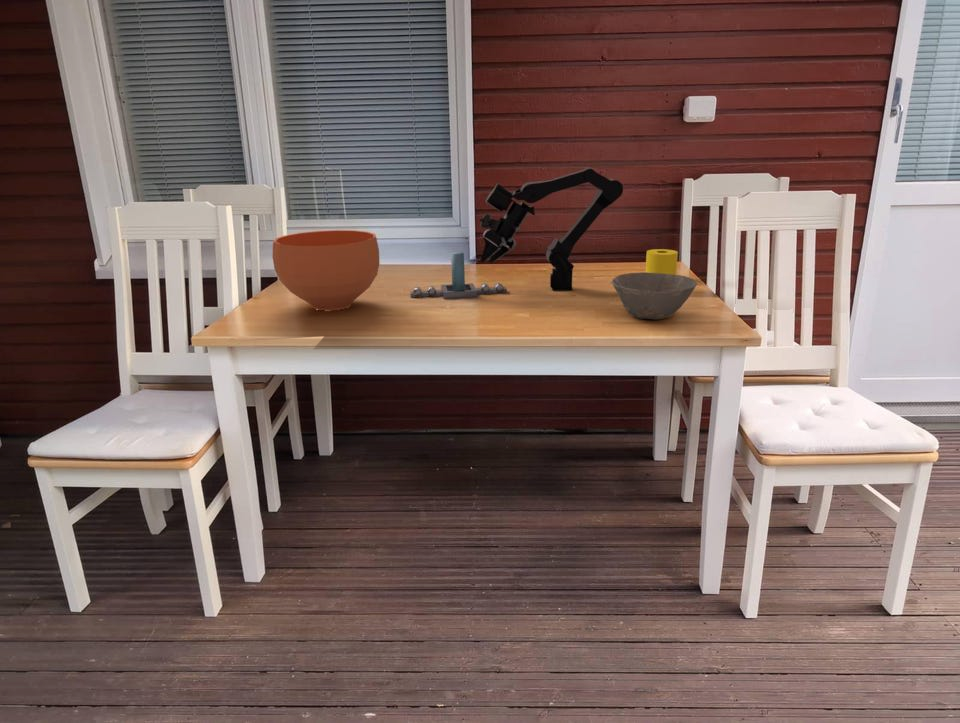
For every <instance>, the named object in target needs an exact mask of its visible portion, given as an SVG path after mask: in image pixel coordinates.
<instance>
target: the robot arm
mask: <svg viewBox="0 0 960 723" xmlns="http://www.w3.org/2000/svg"><path fill="white" fill-rule="evenodd" d="M586 183H589V184H590V185H592V186H594V187H595V188H597V190H596V192H595V195H594V197H593V200H592V202H590V204H589V205H588V206H587V208H586V209H585V210H584V211H583V212H582V214H581V215H580V216H579V217H578V219H577V220H576V221H575V222H574V224H572V226H571V227H570V229H569V230H568V231H567V232H566V234H564V235H563V237H561V238H560V239H558V238H557V237H554V238H553V240H552V242H551V243H550V244H549V245H548V246H547V247H546V248H547V250H546V253H545V258H546V260H547V261H548V262H549V263H550V265H551V266H552V267H553V268H552V269H551V270H552V271H551V273H550V275H549V277H550V278H549V284H550V285H549V287H550V288H551V290H552V291H573V290H574V288H573V269H574V268H575V265H574V264H573V263H572V262H571V261H570V260H569V258H570V256H571V254H572V251H573V249H574V246H575V245H576V244H577V243H578V241H579V240H580V239H581V238H582V236H583V235H584V234H585V233H586V231H588V229H589V228H590V227H591V226H592V225H593V223H594V222H595V221H596V220H597V218H599V216H600V214H602V212H603V211H604V210H605V209H606V208H608V207H609V206H611V205H612V204H613V203H615V202H616V200H618V199H619V198H621V196H622V195H623V193H624V187H623V184H622V182H621V181H619V180H618V179H613V178H607V177H605V176H604V175H602V174H600V173H598V172H596V171H595V170H594V169H592V168H591V167H590V168H589V167H585V168H583V169H581V170H579V171H576V172H575V171H574V172H573V173H569V174H564V175H561V176H559V177H556V178H552V179H548V180H540V181H539V180H538V181H529V182H525V183H524V184H522V186H521V187H520V188H519V189H516V190H513V191H509V190H508V189H507V188H505V187H503V185H501V184H500V183H496V185H495V186H494V188H493V189H492V191H490V192H489V194H488V196H487V197H486V200H485V204H488V205H490V206H491V207H492V208H493V209H495V210H497V211H499V212H503V211H505V212H506V213H505V215H504V216H502V217H499V219H498V220H497V219H494V218H492V215H490V214H487V213H485V214H484V215H483V216H481V218H479V222H480V224H479V227H480V228H484V229H486V230H485V231H483V234H482V236H483V237H482V238H483V241H484V246H483V247H484V248H483V251H482V254H481V257H480V262H481V263H485V262H486V261H488V263H490V264H493V263H494V262H496V261H497V260H499V259H500V258H502V257H503V256H505V255H506V254H508V253H509V252H511V251H512V250H514V249H515V248H516V246H517V241H516V240H515V239H514V236H515V235H516V232H519V231H520V229H521V227H520V226H521V225H522V224H523V222H524V221H525V219H526V217H527V215H528V214H531V215H532V216H536V213H535V206H534V205H528V204H534V203H536V202H538V201H540V200H542V199H545V198H546V197H548V196H549V195H552V194H553V193H557V192H559V191H563V190H567V189H571V188H573V187H577V186H579V185H582V184H586ZM514 199H515V200H514ZM518 201H521V202H520V203H519V202H518ZM525 202H526V203H525ZM527 203H528V204H527Z"/></svg>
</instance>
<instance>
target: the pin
mask: <svg viewBox="0 0 960 723" xmlns="http://www.w3.org/2000/svg"><path fill="white" fill-rule="evenodd" d="M450 257H451V259H450V260H451V284H452V291H461V290H465V284H466V281H465V280H466V278H465V277H466V276H465V274H466V273H465V252H463V251H454V252H451V253H450Z"/></svg>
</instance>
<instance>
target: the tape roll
mask: <svg viewBox="0 0 960 723" xmlns="http://www.w3.org/2000/svg"><path fill="white" fill-rule="evenodd" d="M678 255H679V252H678V251H677V250H675V249H674V250H673V249H664V248H660V249H659V248H656V249H655V248H653V249H648V250H646V257H645V272H644V273H662V274H673V275H677V266H678V265H677V264H678Z"/></svg>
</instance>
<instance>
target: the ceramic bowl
mask: <svg viewBox="0 0 960 723" xmlns="http://www.w3.org/2000/svg"><path fill="white" fill-rule="evenodd" d="M611 284H612V285H613V288H614V290H615V292H616V293H617V294H618V296H619V299H620V301H621V303H622V305H623V308H624V309H625V311H627V312H628V313H629V315H631V316H633V317H635V318H637V319H641V320H642V319H643V320H646V319H647V320H655V321H656V320H662V319H666V318H669V317H671V316H672V315H674V314H676V312H677V311H679V310H680V308H681V307H682V306H683V305H684V304H685V303H686V302H687V300H688V299H689V297H690V296H691V294H692V293H694V292H693V291H694V290H695V289H696V287H697V285H698V282H697V280H696V279H693V278H691V277H690V276H685V275H681V274H680V275H679V274H676V275H673V274H662V273H645V272H630V273H623V274H619V275H617V276H615V277H613V279H611Z"/></svg>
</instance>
